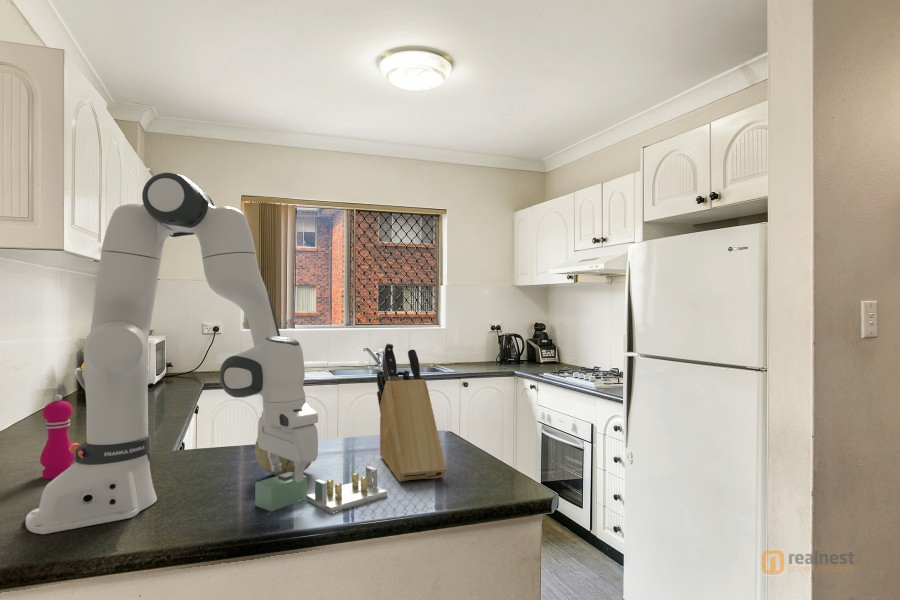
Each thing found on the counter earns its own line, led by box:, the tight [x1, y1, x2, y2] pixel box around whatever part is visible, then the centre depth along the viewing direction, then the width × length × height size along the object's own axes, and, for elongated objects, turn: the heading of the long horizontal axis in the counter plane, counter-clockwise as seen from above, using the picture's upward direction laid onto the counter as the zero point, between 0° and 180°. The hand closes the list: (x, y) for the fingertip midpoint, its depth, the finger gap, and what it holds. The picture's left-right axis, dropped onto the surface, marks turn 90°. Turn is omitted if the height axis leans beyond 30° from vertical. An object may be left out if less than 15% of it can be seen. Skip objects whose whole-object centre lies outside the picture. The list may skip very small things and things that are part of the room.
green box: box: [254, 472, 308, 512], centre depth 116 cm, size 9×6×6 cm, turn 144°
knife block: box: [376, 343, 447, 482], centre depth 143 cm, size 11×35×31 cm, turn 18°
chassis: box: [305, 465, 388, 514], centre depth 117 cm, size 14×10×5 cm
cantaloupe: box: [254, 436, 313, 476], centre depth 134 cm, size 15×15×15 cm
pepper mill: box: [39, 394, 75, 480], centre depth 135 cm, size 7×7×20 cm
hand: (286, 476), depth 117 cm, fingers open, 8 cm apart
